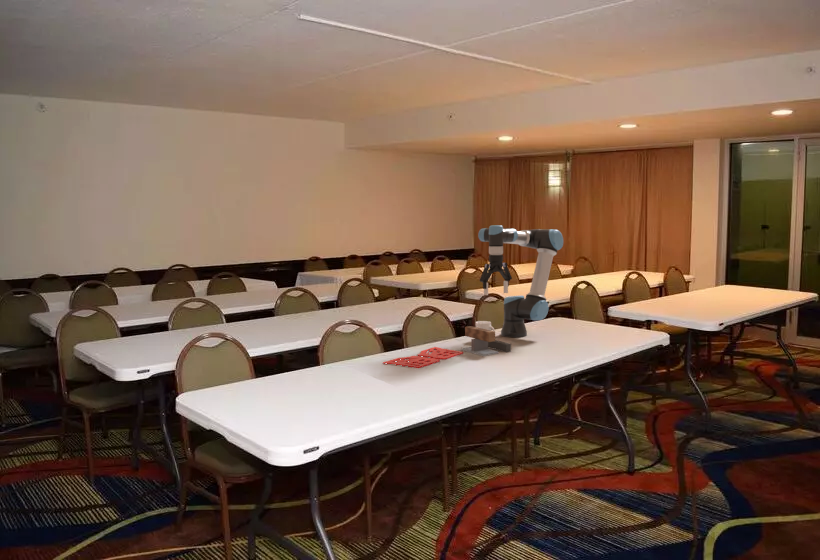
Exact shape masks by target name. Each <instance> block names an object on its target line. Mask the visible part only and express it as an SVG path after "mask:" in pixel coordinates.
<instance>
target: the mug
mask: <svg viewBox="0 0 820 560" xmlns="http://www.w3.org/2000/svg"><path fill="white" fill-rule="evenodd" d="M475 327H478V328H482V329H487V330H491V331H495V332H496V330H495V328H494V327H493V326H492V322H491V321H487V320H478V321H475Z"/></svg>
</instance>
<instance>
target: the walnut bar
mask: <svg viewBox="0 0 820 560" xmlns="http://www.w3.org/2000/svg"><path fill="white" fill-rule="evenodd" d="M464 331H465V332H464V333H465V334H464V336H465V337H466V338H467V337H468V338H471V339H479V340H483V341H487V342H493V341H495V340H496V330H495V331H493V330H492V329H491V330H487V329H482V328H478V327H476V326H473V325H471V326H470V325H469V326H468V325H467V326H465V327H464Z"/></svg>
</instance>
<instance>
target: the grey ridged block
mask: <svg viewBox="0 0 820 560" xmlns="http://www.w3.org/2000/svg"><path fill="white" fill-rule="evenodd" d="M470 343H471V346H468V347H467V346H466V347H461V351H463V350H464V351H463V352H468V353H471V354H475V355H477V356H481V357H486V356H492V355H497V354H499V350H495V349H491V348H489V347H488V342H487V341H483V340H479V339H475V338H471V342H470Z"/></svg>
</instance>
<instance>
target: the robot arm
mask: <svg viewBox="0 0 820 560" xmlns="http://www.w3.org/2000/svg"><path fill="white" fill-rule="evenodd" d="M477 237H478V239H479V241H480V242H484V243H488V262H489V263H485V264H484V267H483V269H482V270H483V271H482V273H481V275H480V278H479V282H480V283H482V288H483V296H489V282H488V281H489V280H490V277H492V275H493V273H497V272H498V273H500V275H501V276H502V278H503V279H504V280H503V294H509V286H510V281H511V280H512V279H513V278H512V275H511V273H510V269H509V267H508V262H503V261H504V255H503V254H504V244H511V245H512V244H513V245H518V246H520V247H526V248H531V249H536V251H537V253H538V254H537V257H536V258H537V259H536V264H535V268H534V271H533V276H532V280H531V285H530V289H529V292H528V293H527V294H525V296H524V295H512V296H511V295H510V296H506V297H504V299H503V323H502V324H503V325H502V327H501V330H500V335H501V336H503V337H506V338H521V337H522V338H523V337H527V336H528V331H527V327H526V325H525V320H530V321H531V320H532V321H542V320H544V319H545V318H546V317H547V315H548V314H549V313H548V312H549V309H550V307H549V303H548V301H547V297H546V296H545V295H546V289H547V286H548V283H549V281H548V280H549V276H550V271H551V268H552V264H553V258H554V256H556V255H557V254H558V251H559V250H561V249H562V248H563V246H564V237H563V234H562V232H561V231H560V230H558V229H552V228H551V229H549V228H547V229H545V228H543V229H542V228H541V229H540V228H538V229H537V228H536V229H535V228H534V229H522V230H519V231H518V230H517V229H515V228H511V227H509V228H508V227H507V228H505V227H504V226H503V225H498V224H497V225H493V224H492V225H490V226H489V227H485V228H481V229H479V231H478V236H477Z"/></svg>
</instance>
